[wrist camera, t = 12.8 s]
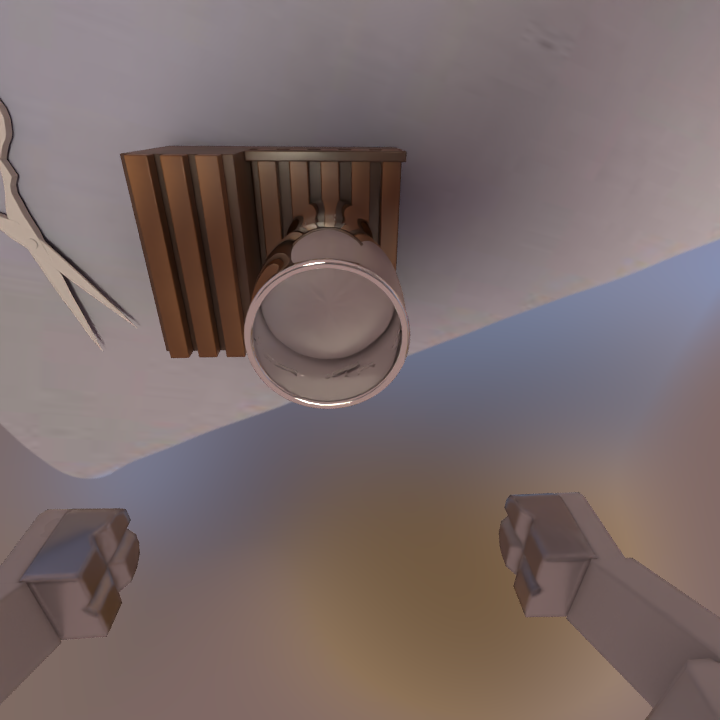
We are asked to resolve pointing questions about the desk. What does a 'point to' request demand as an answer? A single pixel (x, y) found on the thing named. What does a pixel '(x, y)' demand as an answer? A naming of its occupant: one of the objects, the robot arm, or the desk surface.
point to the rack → (240, 224)
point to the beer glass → (327, 311)
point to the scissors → (39, 235)
